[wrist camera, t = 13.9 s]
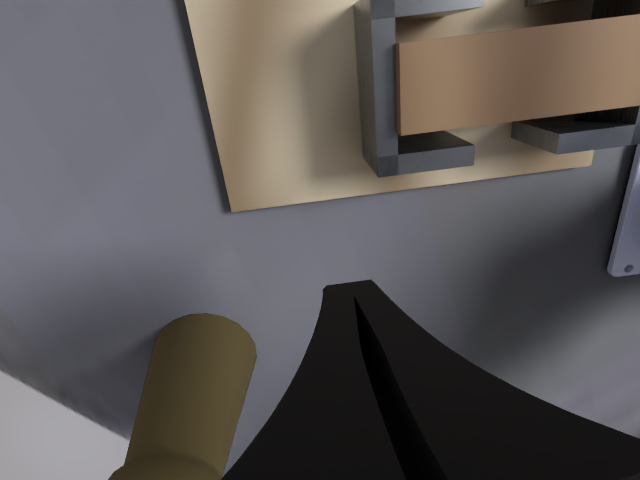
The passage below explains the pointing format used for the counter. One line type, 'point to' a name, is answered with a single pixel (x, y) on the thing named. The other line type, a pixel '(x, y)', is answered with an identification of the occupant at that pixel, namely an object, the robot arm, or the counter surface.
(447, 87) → the slat
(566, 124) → the fixed bracket
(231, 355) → the cork
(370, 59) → the bracket
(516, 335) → the counter surface
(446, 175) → the board
